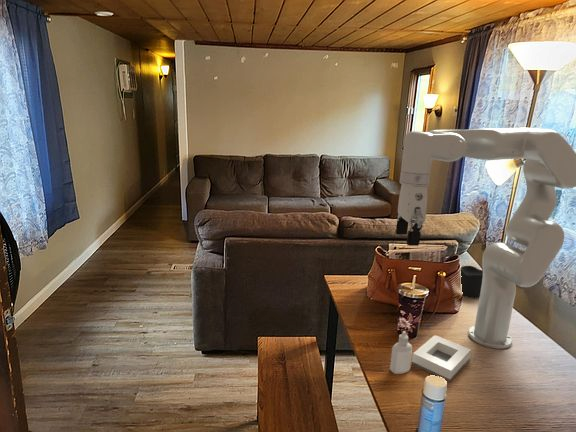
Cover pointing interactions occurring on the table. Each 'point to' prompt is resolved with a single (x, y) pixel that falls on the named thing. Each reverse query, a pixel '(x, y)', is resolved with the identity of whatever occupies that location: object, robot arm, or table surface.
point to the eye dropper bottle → (401, 355)
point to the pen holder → (471, 281)
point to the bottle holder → (441, 357)
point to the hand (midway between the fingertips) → (406, 239)
